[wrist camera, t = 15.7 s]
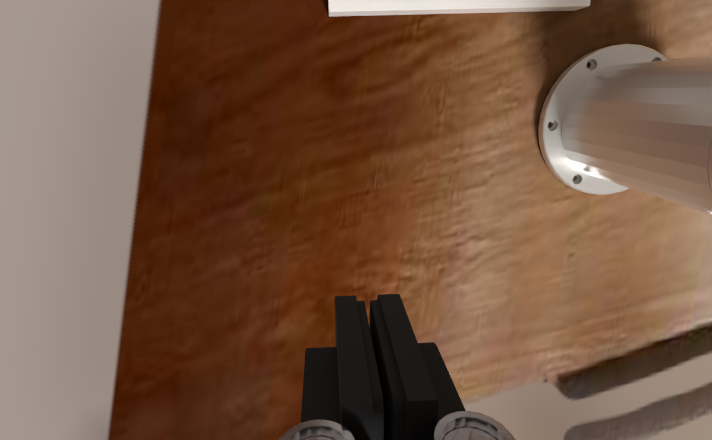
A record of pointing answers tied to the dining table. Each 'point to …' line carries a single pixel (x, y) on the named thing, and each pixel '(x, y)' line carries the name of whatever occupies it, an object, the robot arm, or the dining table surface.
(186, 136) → the dining table surface
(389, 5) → the switch board
